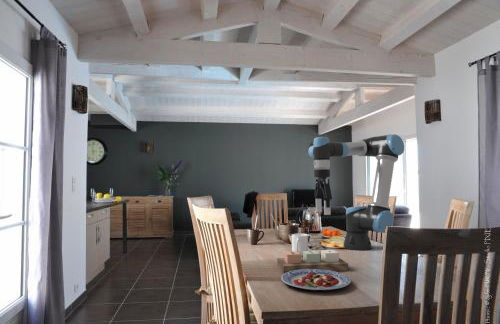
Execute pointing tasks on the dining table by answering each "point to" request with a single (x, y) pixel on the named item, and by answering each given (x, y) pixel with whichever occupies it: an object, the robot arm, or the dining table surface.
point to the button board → (312, 265)
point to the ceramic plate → (316, 279)
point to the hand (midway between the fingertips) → (323, 213)
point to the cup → (300, 243)
